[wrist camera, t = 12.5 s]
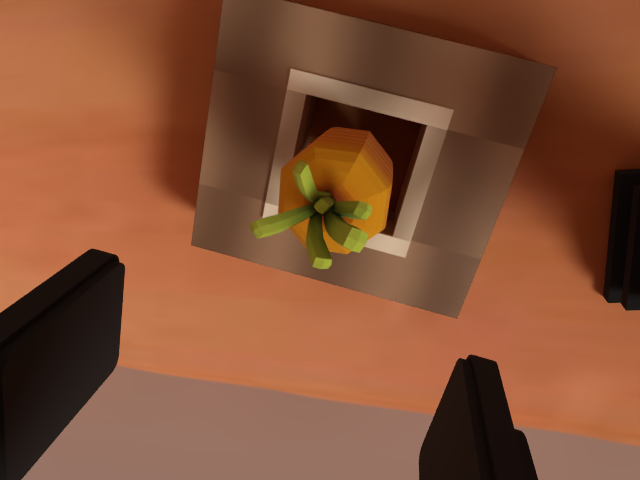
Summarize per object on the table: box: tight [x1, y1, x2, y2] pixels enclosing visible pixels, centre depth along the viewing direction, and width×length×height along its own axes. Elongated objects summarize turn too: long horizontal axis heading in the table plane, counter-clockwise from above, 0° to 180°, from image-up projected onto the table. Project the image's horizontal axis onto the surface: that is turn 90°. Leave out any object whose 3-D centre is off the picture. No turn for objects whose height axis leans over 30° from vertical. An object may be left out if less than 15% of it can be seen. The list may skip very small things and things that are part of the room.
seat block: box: [191, 0, 557, 319], centre depth 29 cm, size 16×14×4 cm
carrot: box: [249, 127, 393, 269], centre depth 24 cm, size 5×5×15 cm
